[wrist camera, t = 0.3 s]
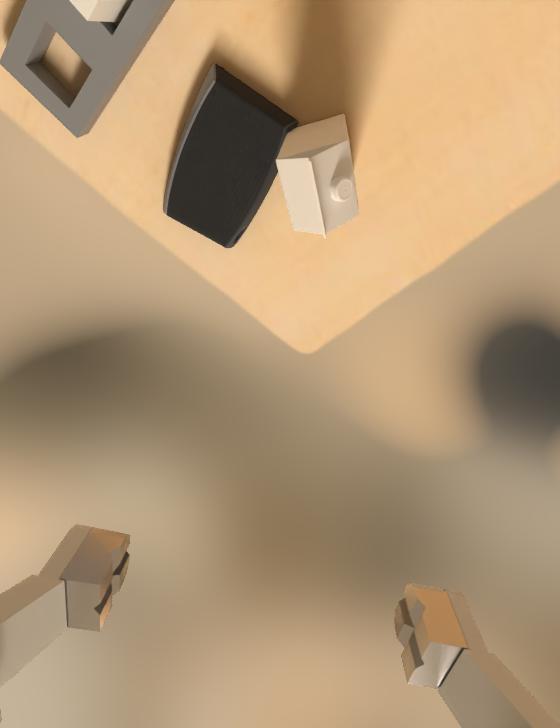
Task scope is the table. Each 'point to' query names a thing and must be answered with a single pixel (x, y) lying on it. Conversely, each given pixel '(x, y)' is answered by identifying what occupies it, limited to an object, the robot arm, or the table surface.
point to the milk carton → (318, 176)
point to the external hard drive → (225, 158)
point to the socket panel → (90, 41)
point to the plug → (102, 9)
